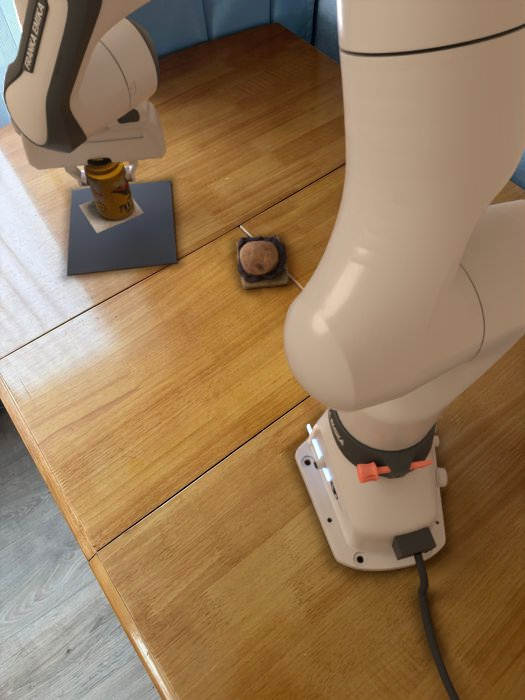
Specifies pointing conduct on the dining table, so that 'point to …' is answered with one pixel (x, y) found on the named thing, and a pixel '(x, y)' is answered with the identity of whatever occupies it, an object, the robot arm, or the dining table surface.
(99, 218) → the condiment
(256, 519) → the dining table surface
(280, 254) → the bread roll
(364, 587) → the dining table surface
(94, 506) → the dining table surface
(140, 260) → the placemat
